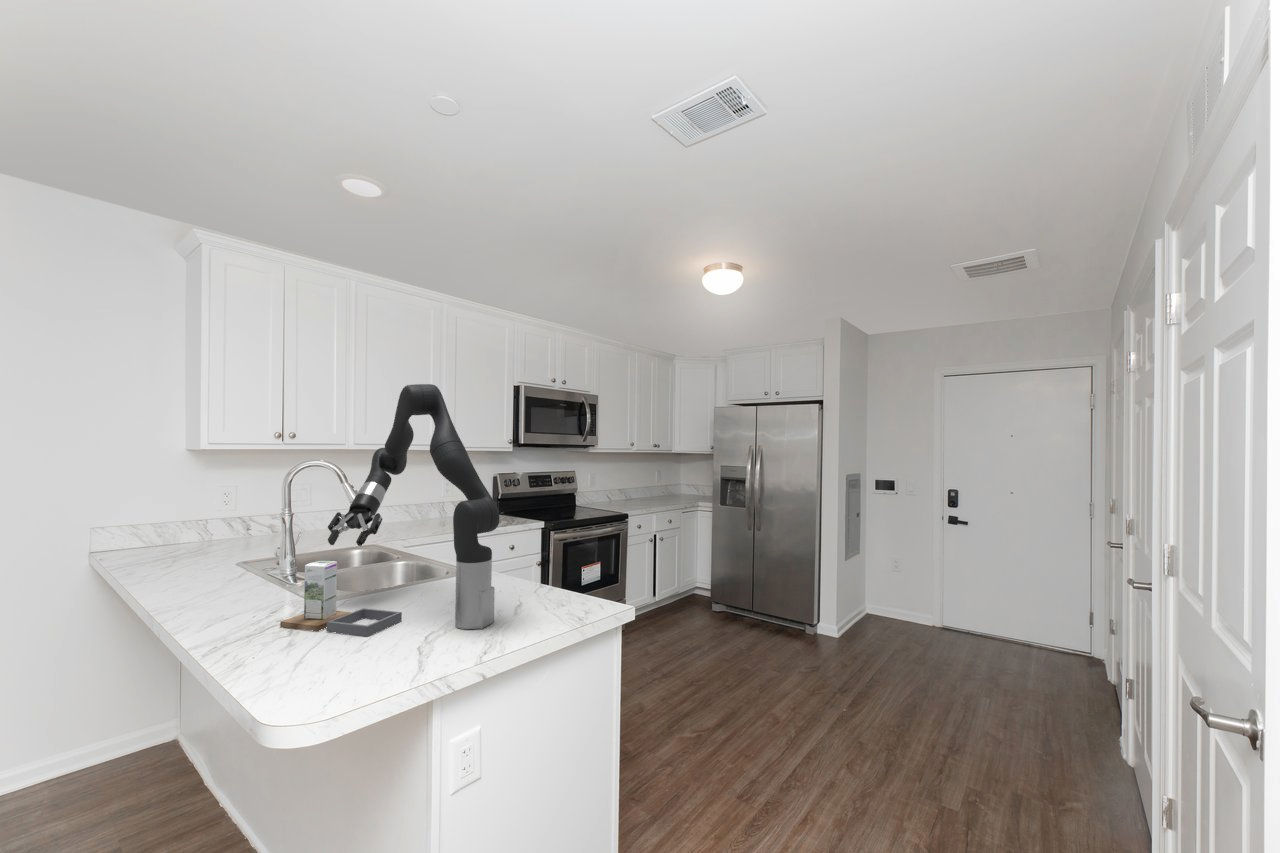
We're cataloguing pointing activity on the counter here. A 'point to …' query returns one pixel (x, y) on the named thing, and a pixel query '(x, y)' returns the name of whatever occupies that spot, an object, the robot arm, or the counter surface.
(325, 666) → the counter surface
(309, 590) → the syrup box
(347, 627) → the frame
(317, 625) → the walnut board
